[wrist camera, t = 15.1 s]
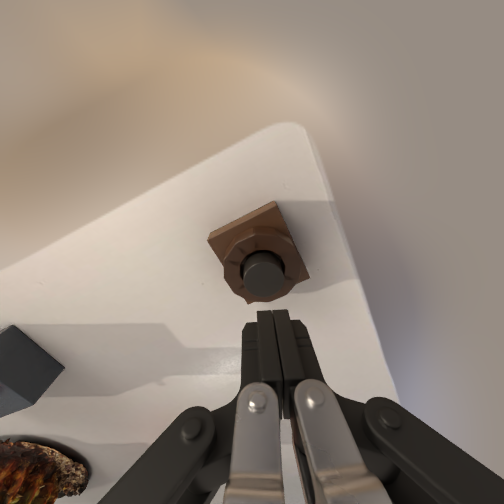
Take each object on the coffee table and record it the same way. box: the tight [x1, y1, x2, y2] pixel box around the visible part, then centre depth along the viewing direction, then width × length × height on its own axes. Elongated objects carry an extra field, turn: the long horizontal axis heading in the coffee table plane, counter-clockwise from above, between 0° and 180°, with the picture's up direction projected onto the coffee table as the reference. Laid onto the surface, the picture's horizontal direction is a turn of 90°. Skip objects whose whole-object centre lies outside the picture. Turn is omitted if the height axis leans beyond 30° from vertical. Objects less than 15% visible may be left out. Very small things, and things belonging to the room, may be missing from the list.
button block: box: [207, 201, 310, 304], centre depth 18 cm, size 7×6×4 cm
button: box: [243, 252, 284, 297], centre depth 16 cm, size 3×3×2 cm
